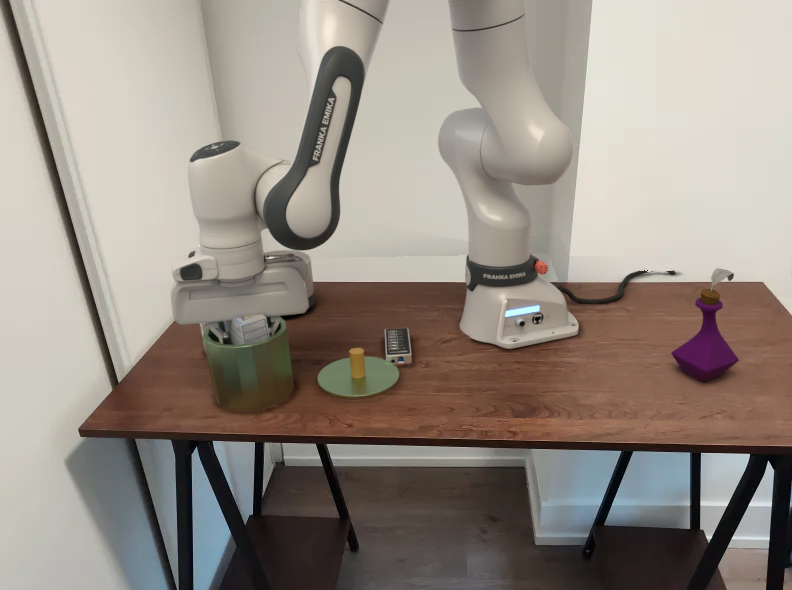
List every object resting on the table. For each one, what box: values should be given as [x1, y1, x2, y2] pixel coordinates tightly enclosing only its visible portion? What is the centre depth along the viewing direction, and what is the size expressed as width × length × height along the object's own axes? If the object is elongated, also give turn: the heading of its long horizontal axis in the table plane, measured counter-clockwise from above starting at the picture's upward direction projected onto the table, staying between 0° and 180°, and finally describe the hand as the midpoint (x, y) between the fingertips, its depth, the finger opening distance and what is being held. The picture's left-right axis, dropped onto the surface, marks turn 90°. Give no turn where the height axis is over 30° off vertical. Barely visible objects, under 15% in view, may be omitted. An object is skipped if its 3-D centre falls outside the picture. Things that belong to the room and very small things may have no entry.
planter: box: [264, 249, 316, 318], centre depth 139 cm, size 13×13×10 cm
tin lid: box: [316, 347, 400, 400], centre depth 113 cm, size 14×14×6 cm
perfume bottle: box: [670, 267, 740, 383], centre depth 109 cm, size 8×8×18 cm
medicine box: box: [223, 314, 270, 345], centre depth 107 cm, size 8×4×9 cm, turn 35°
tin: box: [202, 317, 295, 411], centre depth 109 cm, size 13×13×12 cm
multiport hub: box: [384, 327, 413, 365], centre depth 123 cm, size 4×11×2 cm, turn 4°
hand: (248, 342), depth 108 cm, fingers closed on medicine box, 6 cm apart
